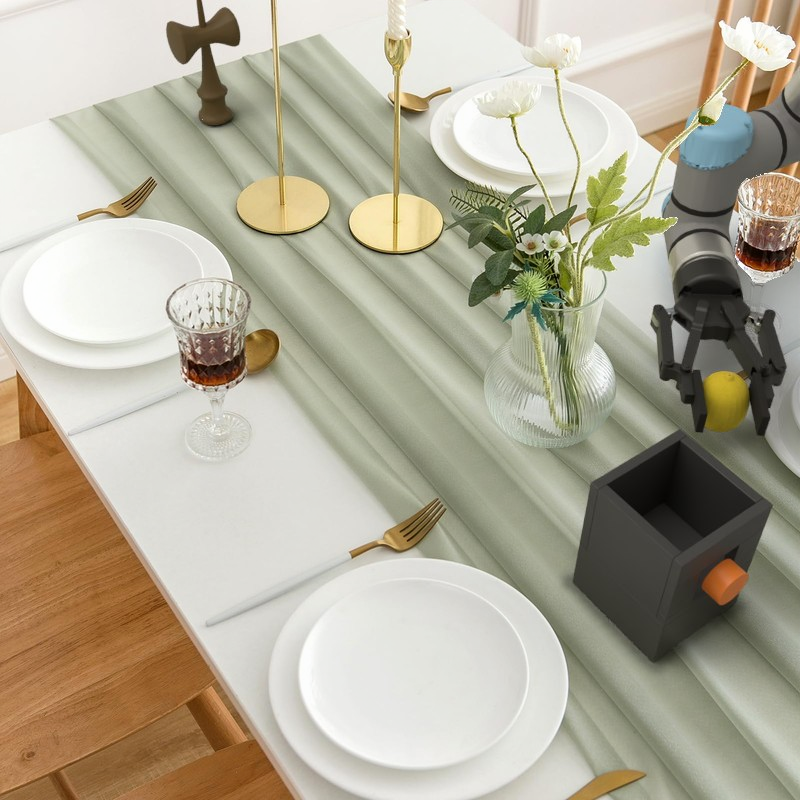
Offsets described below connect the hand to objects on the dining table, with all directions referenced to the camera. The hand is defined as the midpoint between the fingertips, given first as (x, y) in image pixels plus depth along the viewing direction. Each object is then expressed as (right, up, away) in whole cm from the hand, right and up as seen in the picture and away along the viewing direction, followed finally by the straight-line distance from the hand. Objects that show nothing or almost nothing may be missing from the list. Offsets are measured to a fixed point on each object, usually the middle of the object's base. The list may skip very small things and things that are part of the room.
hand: (732, 424), depth 110 cm
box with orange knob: (-9, -16, -5) cm, 19 cm away
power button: (-5, -15, -14) cm, 21 cm away
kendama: (-62, +45, +56) cm, 95 cm away
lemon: (+1, -1, +8) cm, 8 cm away
